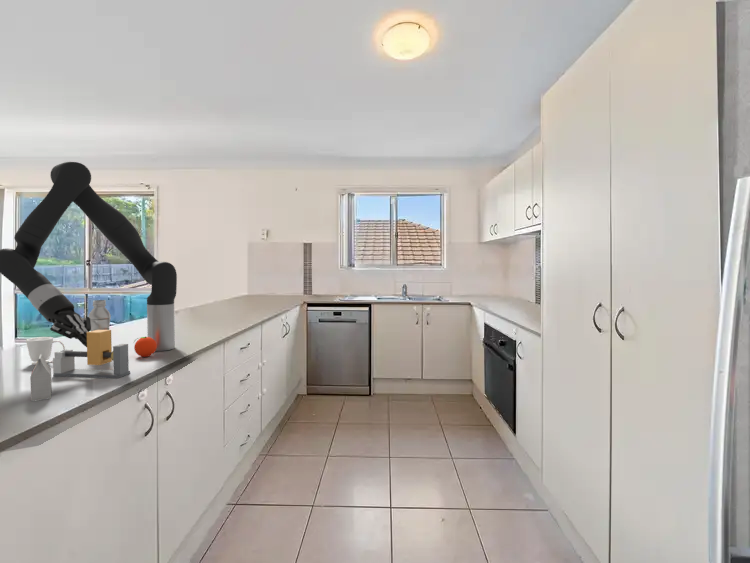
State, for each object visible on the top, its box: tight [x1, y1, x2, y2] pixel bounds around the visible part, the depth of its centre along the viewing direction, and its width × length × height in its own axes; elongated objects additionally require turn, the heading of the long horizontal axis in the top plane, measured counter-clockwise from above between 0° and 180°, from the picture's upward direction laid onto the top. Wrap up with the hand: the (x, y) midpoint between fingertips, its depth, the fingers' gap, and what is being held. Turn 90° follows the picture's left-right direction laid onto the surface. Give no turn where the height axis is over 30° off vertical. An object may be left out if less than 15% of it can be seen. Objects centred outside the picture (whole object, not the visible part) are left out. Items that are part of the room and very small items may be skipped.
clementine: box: [133, 336, 157, 358], centre depth 146 cm, size 8×7×7 cm
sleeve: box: [86, 329, 113, 366], centre depth 122 cm, size 4×5×10 cm
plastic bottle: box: [87, 299, 112, 332], centre depth 141 cm, size 6×7×20 cm
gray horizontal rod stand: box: [52, 343, 131, 379], centre depth 122 cm, size 20×5×9 cm, turn 86°
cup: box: [25, 336, 66, 366], centre depth 136 cm, size 7×10×8 cm
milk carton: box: [30, 354, 53, 402], centre depth 103 cm, size 4×7×10 cm, turn 36°
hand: (91, 344), depth 122 cm, fingers closed
